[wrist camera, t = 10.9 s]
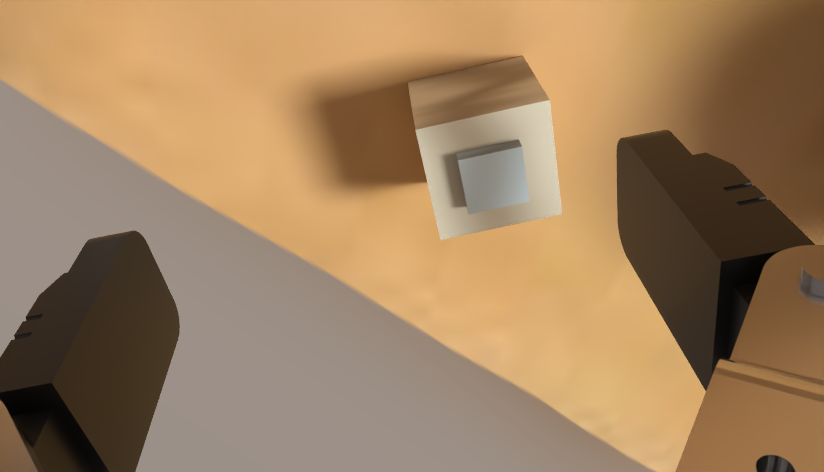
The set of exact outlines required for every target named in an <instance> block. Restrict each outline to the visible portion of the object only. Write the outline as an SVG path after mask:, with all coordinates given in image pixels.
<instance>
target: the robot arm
mask: <svg viewBox="0 0 824 472" xmlns="http://www.w3.org/2000/svg"><path fill="white" fill-rule="evenodd" d="M617 209H618V228H619V234H620V239H621V243H622V246H623V249H624V251H625V254H626V256H627V258H628V259H629V261H630V263H631V265H632V266H633V268H634V270H635V271H636V273H637V275H638V277H639V278H640V280H641V282H642V283H643V285H644V287H645V288H646V290H647V292H648V294H649V295H650V297H651V299H652V300H653V302H654V304H655V305H656V307H657V309H658V311H659V312H660V314H661V316H662V317H663V319H664V321H665V322H666V324H667V326H668V328H669V329H670V331H671V333H672V334H673V336H674V338H675V339H676V341H677V343H678V345H679V346H680V348H681V350H682V351H683V353H684V355H685V356H686V358H687V360H688V362H689V363H690V365H691V367H692V368H693V370H694V372H695V373H696V375H697V377H698V379H699V380H700V382H701V384H702V385H703V387H704V389H705V390H706V393H705V396H704V399H703V401H702V404H701V407H700V409H699V412H698V414H697V417H696V420H695V422H694V425H693V427H692V430H691V433H690V435H689V438H688V441H687V443H686V446H685V448H684V451H683V454H682V456H681V459H680V461H679V464H678V467H677V469H676V472H824V245H815V244H814V243H813V242H812V241H811V240H810V239H809V238H808V237H807V236H806V235H805V234H804V233H803V232H802V231H801V230H800V229H799V228H798V227H797V226H796V225H795V224H793V223H792V222H791V221H790V220H789V219H788V218H787V217H786V216H785V215H784V214H783V213H782V212H781V211H780V210H779V209H778V208H777V207H776V206H775V205H774V204H773V203H772V202H771V201H770V200H768V201H767V200H766V196H765V195H764V194H763V193H762V192H761V191H760V190H759V189H758V188H757V187H756V186H752V184H751V181H750V180H749V179H748V178H747V177H746V176H745V175H743V174H742V173H741V172H740V171H739V170H738V169H737V168H736V167H735V166H734V165H733V164H730V163H728V162H726V161H723V160H721V159H719V158H717V157H714V156H712V155H710V154H707V153H702V154H696V155H692V154H691V153H690V152H689V151H688V150H687V149H686V148H685V147H684V146H683V145H682V143H681V142H680V141H679V140H678V139H677V138H676V137H675V136H674V135H673V134H672V133H671V132H670V131H669V130H662V131H657V132H651V133H646V134H641V135H636V136H630V137H625V138H621V139H620V140H619V142H618V145H617ZM179 328H180V327H179V316H178V311H177V307H176V304H175V302H174V299H173V297H172V295H171V293H170V291H169V289H168V287H167V284H166V282H165V280H164V278H163V276H162V274H161V272H160V270H159V267H158V265H157V263H156V261H155V259H154V257H153V255H152V253H151V251H150V249H149V246H148V244H147V242H146V240H145V239H144V237H143V236H142V235H141V234H140V233H139V232H137V231H129V232H124V233H119V234H114V235H108V236H104V237H98V238H93V239H89V240H88V241H87V242H86V243H85V245H84V247H83V248H82V250H81V252H80V253H79V255H78V257H77V259H76V260H75V262H74V264H73V265H72V267H71V269H70V270H69V272H68V273H64V274H63V275H62V276H60V277H59V278H58V279H57V280H56V281H55V282H54V283H53V284H51V286H49V287H48V288H47V289H46V290H45V291H44V292H43V293H41V294H40V295H39V297H38V298H37V300H36V302H35V303H34V305H33V306H32V308H31V310H30V311H29V313H28V315H27V316H26V321H24V322H22V324H21V326H20V327H19V329H18V330H17V332H16V333H15V335H14V336H15V340H11V341H10V343H9V345H8V346H7V348H6V350H5V351H4V353H3V354H2V356H1V357H0V472H135V471H136V468H137V464H138V461H139V458H140V455H141V452H142V449H143V446H144V443H145V440H146V436H147V434H148V431H149V427H150V424H151V421H152V418H153V415H154V412H155V409H156V406H157V403H158V400H159V397H160V393H161V390H162V387H163V384H164V381H165V378H166V374H167V372H168V368H169V366H170V362H171V359H172V356H173V353H174V350H175V347H176V344H177V341H178V337H179Z"/></svg>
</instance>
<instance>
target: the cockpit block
mask: <svg viewBox="0 0 824 472" xmlns="http://www.w3.org/2000/svg"><path fill="white" fill-rule="evenodd" d="M408 89H409V95H410V101H411V107H412V113H413V119H414V125H415V131H416V135H417V140H418V144H419V148H420V153H421V157H422V161H423V166H424V170H425V174H426V179H427V183H428V187H429V192H430V196H431V200H432V205H433V209H434V214H435V218H436V222H437V227H438V231H439V235H440V240H443V239H448V238H452V237H457V236H462V235H466V234H471V233H476V232H481V231H485V230H490V229H495V228H499V227H504V226H509V225H513V224H518V223H523V222H527V221H532V220H537V219H541V218H546V217H551V216H555V215H560V214H562V209H561V199H560V190H559V181H558V172H557V162H556V153H555V144H554V135H553V126H552V116H551V107H550V99H549V98H548V96H547V95H546V93H545V91H544V90H543V88H542V86H541V85H540V83H539V81H538V80H537V78H536V77H535V75H534V73H533V72H532V70H531V68H530V67H529V65H528V63H527V62H526V60H525V59H524V57H523V56H519V57H515V58H511V59H506V60H502V61H497V62H493V63H489V64H484V65H480V66H475V67H471V68H467V69H462V70H458V71H454V72H449V73H445V74H440V75H436V76H432V77H427V78H423V79H418V80H414V81H410V82H408Z"/></svg>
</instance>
